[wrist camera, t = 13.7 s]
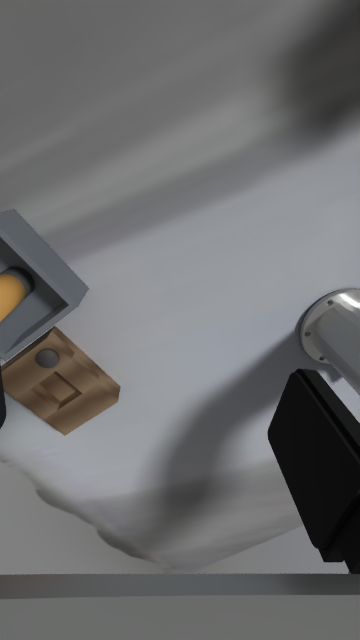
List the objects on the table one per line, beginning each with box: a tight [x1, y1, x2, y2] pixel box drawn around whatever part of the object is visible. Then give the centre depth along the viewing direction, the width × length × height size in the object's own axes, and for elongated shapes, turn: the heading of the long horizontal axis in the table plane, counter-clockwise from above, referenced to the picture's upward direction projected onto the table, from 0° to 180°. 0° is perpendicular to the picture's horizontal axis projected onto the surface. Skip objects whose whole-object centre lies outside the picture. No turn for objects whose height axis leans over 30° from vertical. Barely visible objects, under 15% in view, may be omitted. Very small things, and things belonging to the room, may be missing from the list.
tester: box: [1, 326, 120, 435], centre depth 44 cm, size 14×11×4 cm
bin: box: [0, 209, 89, 361], centre depth 35 cm, size 12×12×6 cm
